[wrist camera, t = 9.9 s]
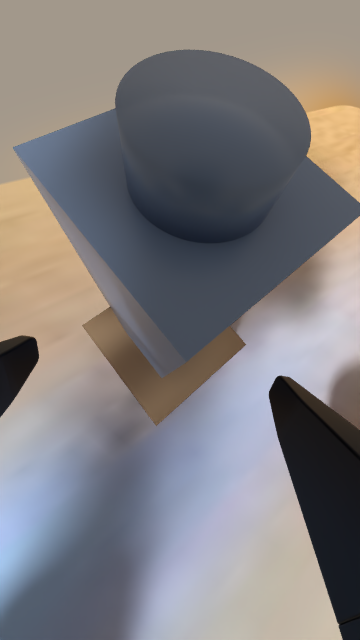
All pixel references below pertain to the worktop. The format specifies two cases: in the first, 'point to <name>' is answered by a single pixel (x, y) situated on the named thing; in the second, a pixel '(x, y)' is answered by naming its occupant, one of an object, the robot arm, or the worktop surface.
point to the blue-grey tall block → (189, 197)
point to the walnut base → (144, 379)
